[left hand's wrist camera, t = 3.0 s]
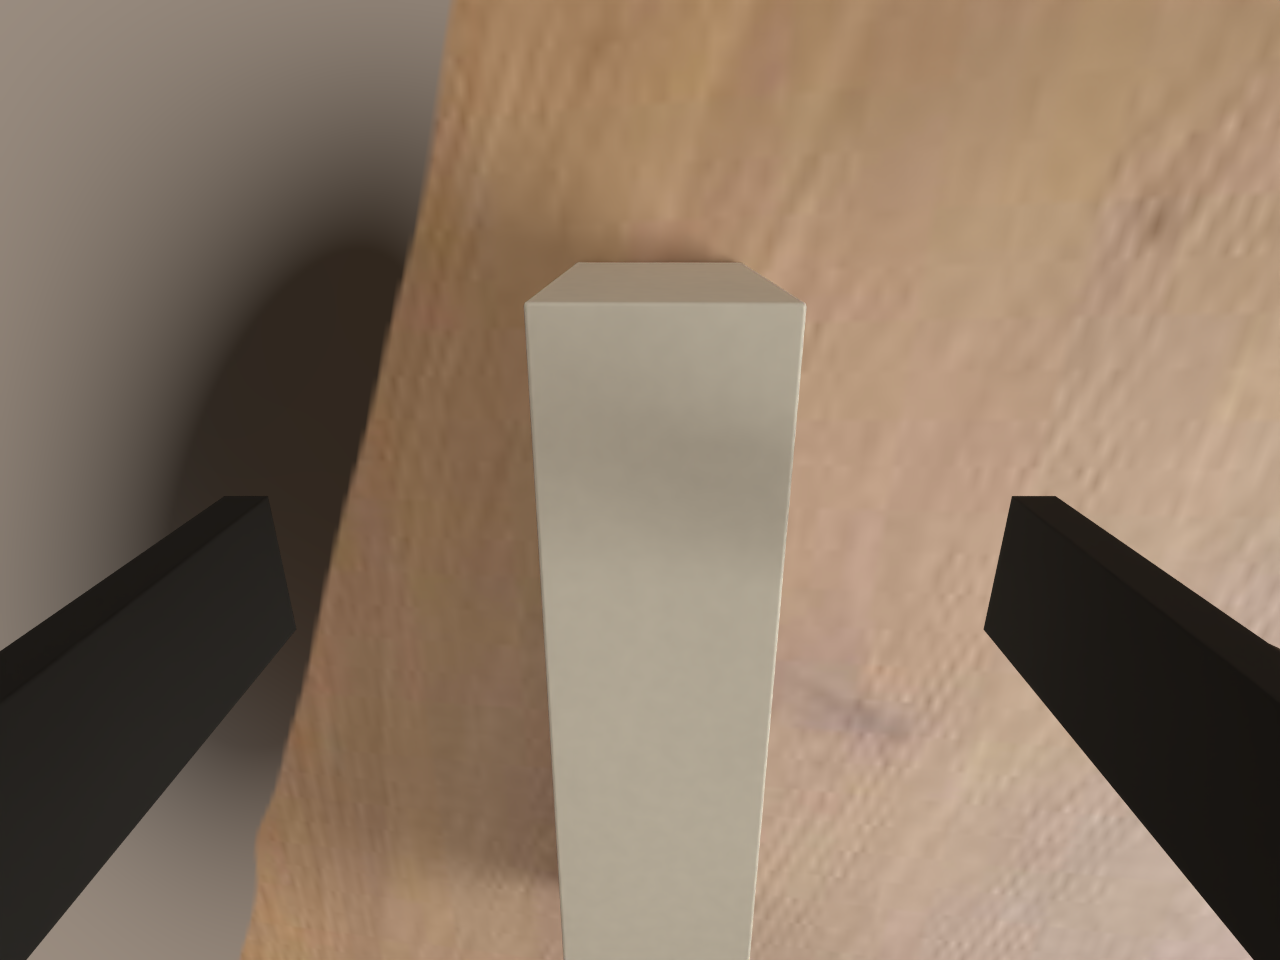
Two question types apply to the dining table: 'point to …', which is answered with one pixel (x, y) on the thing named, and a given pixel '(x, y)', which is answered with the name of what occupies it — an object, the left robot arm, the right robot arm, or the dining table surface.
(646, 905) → the bar
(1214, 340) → the dining table surface
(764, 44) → the dining table surface
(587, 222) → the dining table surface
